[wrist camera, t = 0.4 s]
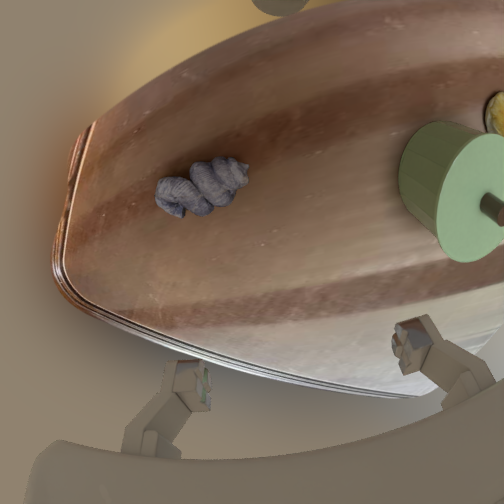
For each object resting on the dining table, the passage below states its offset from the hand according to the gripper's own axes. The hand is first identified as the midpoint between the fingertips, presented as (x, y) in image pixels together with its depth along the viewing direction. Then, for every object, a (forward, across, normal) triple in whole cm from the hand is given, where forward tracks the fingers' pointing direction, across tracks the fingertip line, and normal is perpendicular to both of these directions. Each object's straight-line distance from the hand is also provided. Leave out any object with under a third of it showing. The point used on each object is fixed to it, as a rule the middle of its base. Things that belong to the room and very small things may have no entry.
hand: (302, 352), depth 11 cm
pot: (+22, -22, +2) cm, 31 cm away
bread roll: (+22, -35, -6) cm, 41 cm away
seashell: (+22, +6, -1) cm, 23 cm away
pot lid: (+13, -22, +2) cm, 26 cm away
